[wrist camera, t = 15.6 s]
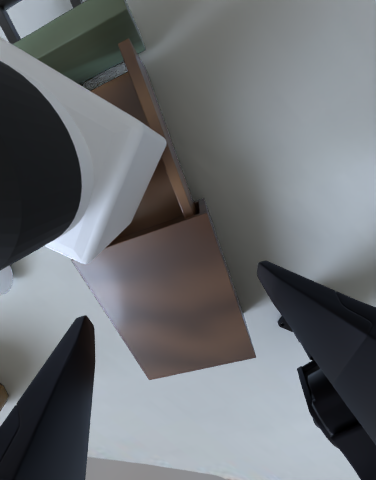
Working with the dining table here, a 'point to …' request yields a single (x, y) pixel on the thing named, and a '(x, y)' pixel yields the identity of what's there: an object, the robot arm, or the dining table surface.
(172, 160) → the drawer
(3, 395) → the flowerpot
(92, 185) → the medicine bottle
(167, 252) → the cabinet
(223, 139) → the dining table surface
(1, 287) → the white brass knuckles
